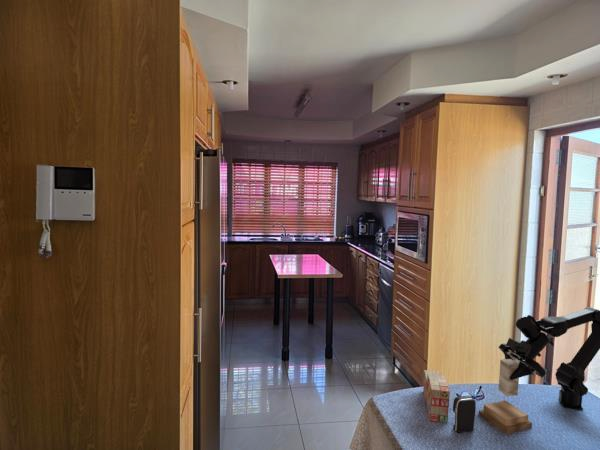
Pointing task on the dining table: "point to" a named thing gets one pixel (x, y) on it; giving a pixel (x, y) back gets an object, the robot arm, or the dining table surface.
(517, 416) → the maple block
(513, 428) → the wooden base plate
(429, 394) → the stack of blocks
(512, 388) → the ash block
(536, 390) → the dining table surface
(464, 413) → the battery charger
